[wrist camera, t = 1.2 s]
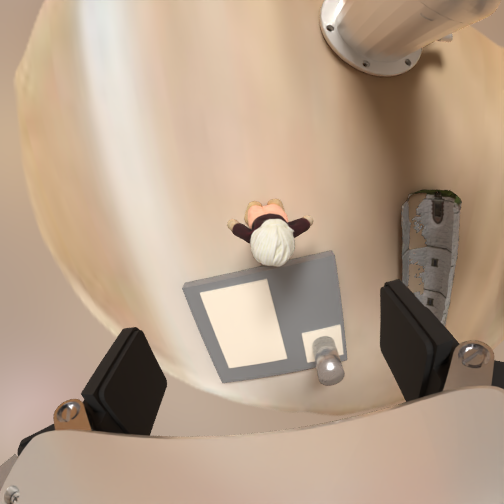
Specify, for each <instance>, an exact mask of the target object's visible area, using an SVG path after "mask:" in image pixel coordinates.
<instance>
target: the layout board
mask: <svg viewBox="0 0 504 504" xmlns="http://www.w3.org/2000/svg"><path fill="white" fill-rule="evenodd" d="M182 289H183V292H184V294H185V297H186V299H187V302H188V305H189V307H190V310H191V312H192V315H193V317H194V319H195V322H196V324H197V327H198V329H199V331H200V334H201V336H202V339H203V341H204V343H205V346H206V348H207V350H208V352H209V355H210V357H211V359H212V362H213V364H214V366H215V368H216V370H217V373H218V375H219V377H220V379H221V381H222V383H227V382H235V381H243V380H250V379H256V378H263V377H269V376H275V375H280V374H286V373H291V372H296V371H301V370H306V369H311V368H315V367H316V363H315V358H314V353H313V349H312V345H313V342H314V341H315V340H316V339H317V338H319V337H322V336H329V337H331V338H333V339H334V341H335V345H336V348H337V351H338V354H339V357H340V360H341V361H345V360H347V351H346V341H345V331H344V321H343V312H342V304H341V296H340V289H339V281H338V274H337V267H336V261H335V255H334V253H333V252H332V250H331V251H327V252H322V253H318V254H314V255H309V256H305V257H301V258H296V259H292V260H288V261H287V262H286V263H285V264H284V265H282V266H267V265H265V266H261V267H256V268H252V269H247V270H243V271H238V272H233V273H229V274H224V275H220V276H215V277H210V278H206V279H201V280H196V281H192V282H187V283H185V284H184V286H183V288H182Z"/></svg>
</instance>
